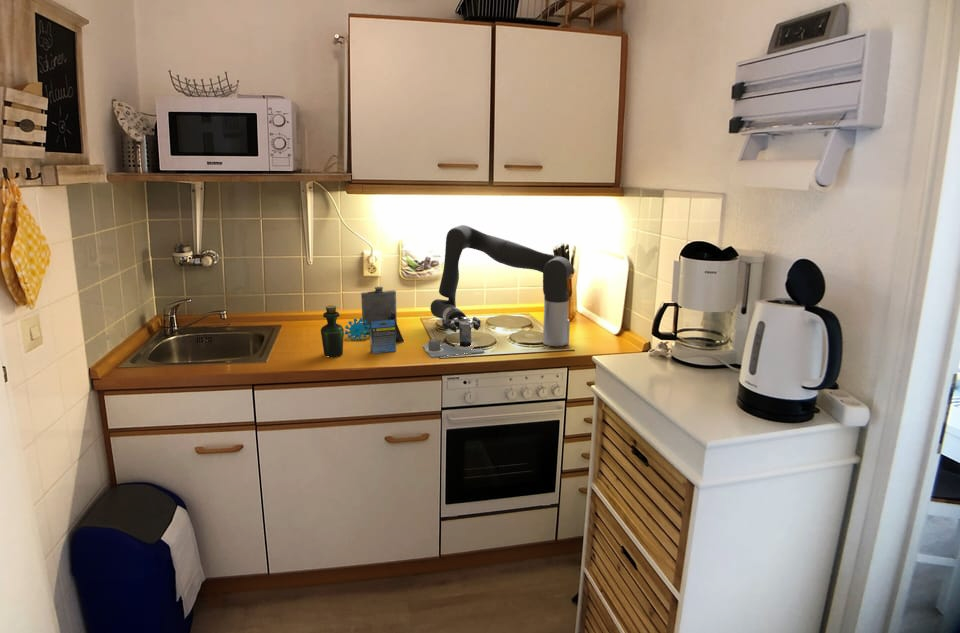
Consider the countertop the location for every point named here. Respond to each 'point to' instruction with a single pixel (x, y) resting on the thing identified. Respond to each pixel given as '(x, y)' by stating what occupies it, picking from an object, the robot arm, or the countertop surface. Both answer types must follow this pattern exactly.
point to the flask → (377, 305)
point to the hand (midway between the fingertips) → (466, 328)
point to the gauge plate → (447, 349)
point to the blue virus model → (357, 329)
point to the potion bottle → (332, 333)
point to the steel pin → (465, 332)
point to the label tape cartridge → (383, 336)
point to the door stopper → (397, 331)
